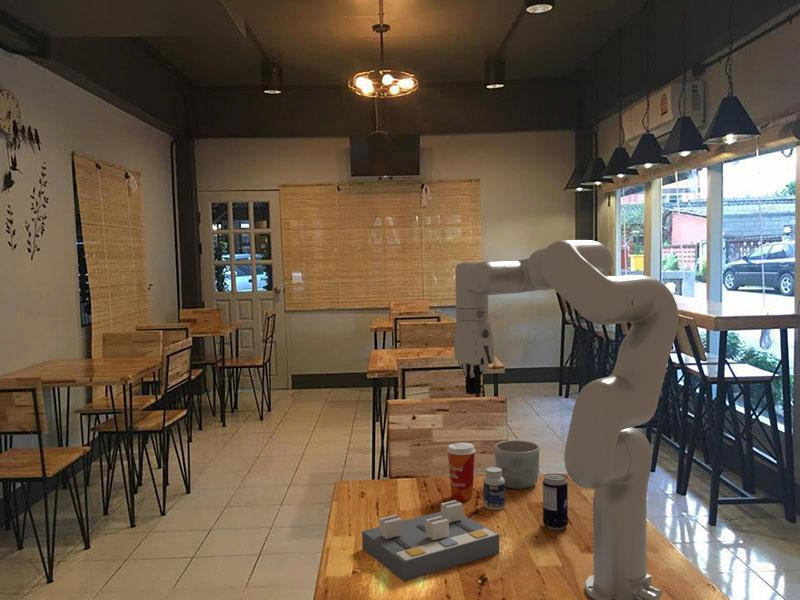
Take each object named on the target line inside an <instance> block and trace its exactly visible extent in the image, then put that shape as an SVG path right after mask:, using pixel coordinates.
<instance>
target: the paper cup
mask: <svg viewBox="0 0 800 600" xmlns="http://www.w3.org/2000/svg"><path fill="white" fill-rule="evenodd" d="M476 451H477V450H476V449H475V445H474V444H472V443H468V442H455V443H454V442H453V444H452V443H450V444H449V445H448V447H447V449H446V452H447V455H448V469H449V470H448V471H449V483H450V484H449V485H450V495H451V496H450V497H451V499H452V500H453V501H454V500H456V501H458V502H466V501H470V500H472V499H473V494H474V478H475V477H474V472H475V454H476V453H475V452H476Z"/></svg>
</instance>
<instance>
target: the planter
mask: <svg viewBox="0 0 800 600" xmlns="http://www.w3.org/2000/svg"><path fill="white" fill-rule="evenodd" d="M494 461H495V462H494V464H495V467H497V468H500V469H502V476H501V477H503V478H504V480H505V488H509V489H514V490H518V489H519V490H522V489H529V488H531V487H533V486H534V485H536V484H537V482H538V478H539V473H540V472H539V471H540V470H539V469H540V445H538V444H537V443H536V442H531V441H527V440H513V439H512V440H504V441H500V442H497V443H496V444H495V445H494Z"/></svg>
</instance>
